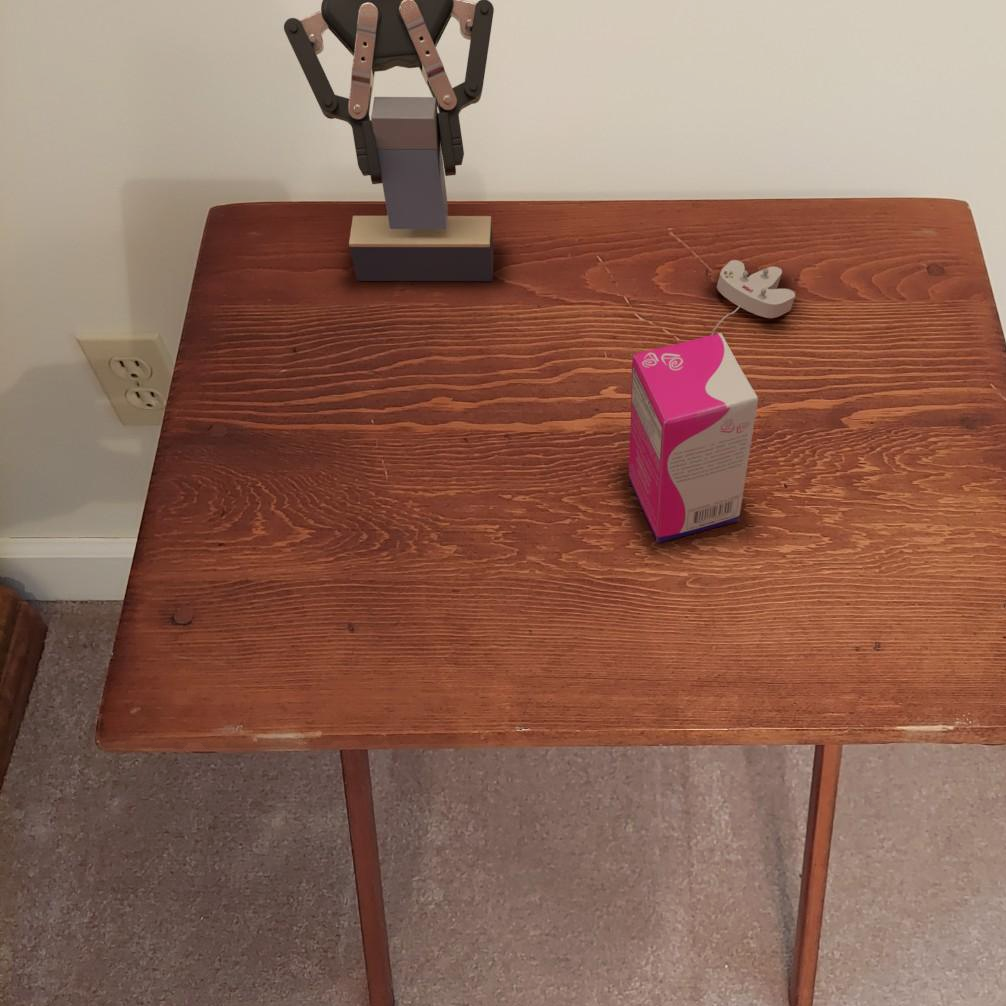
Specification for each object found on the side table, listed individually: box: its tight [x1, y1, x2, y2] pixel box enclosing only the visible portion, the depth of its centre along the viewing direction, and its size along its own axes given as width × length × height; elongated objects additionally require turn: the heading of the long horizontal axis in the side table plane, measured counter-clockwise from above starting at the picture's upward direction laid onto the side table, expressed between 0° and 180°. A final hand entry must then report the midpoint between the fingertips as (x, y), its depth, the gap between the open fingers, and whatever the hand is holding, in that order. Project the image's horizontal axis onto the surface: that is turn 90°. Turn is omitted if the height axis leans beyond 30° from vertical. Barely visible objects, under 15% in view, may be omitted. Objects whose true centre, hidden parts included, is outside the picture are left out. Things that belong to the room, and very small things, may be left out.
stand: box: [348, 215, 495, 282], centre depth 86 cm, size 10×3×4 cm, turn 91°
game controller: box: [710, 259, 796, 335], centre depth 83 cm, size 6×12×3 cm, turn 158°
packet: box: [370, 96, 449, 229], centre depth 80 cm, size 4×2×9 cm, turn 91°
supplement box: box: [628, 332, 759, 543], centre depth 71 cm, size 6×6×12 cm
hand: (413, 176), depth 78 cm, fingers closed on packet, 4 cm apart
